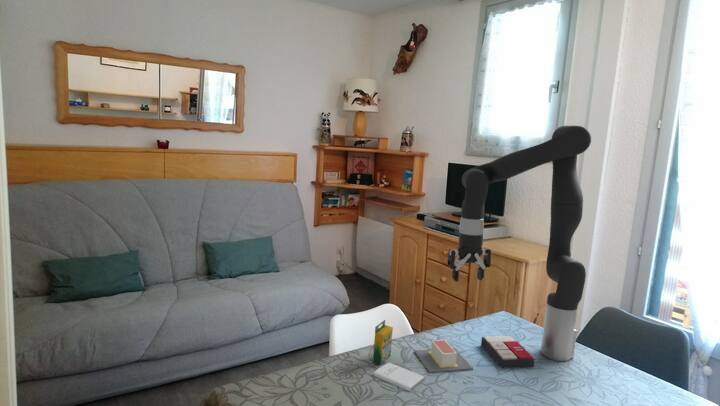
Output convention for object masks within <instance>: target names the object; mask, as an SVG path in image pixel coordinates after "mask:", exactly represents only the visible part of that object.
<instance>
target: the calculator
mask: <svg viewBox="0 0 720 406" xmlns="http://www.w3.org/2000/svg"><path fill="white" fill-rule="evenodd" d="M480 342H481V343H480V347H481V349H483V350H484V351H485V352H486V353H487V354H488V355H489V356H490V357H491V359H492V360H493V361H494V362H495V363H496V364H497V365H498V366H499V367H500V369H519V368H520V369H521V368H534V365H535V358H534V357H533V355H531V353H529V351H527V349H525V348H524V347H523V346H522V345H521V344H520V343H519V342H518V341H517V340H516V339H515V338H513V336H512V335H498V336H497V335H494V336H493V335H492V336H487V335H486V336H482V337H481V341H480Z"/></svg>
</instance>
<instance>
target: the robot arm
mask: <svg viewBox="0 0 720 406" xmlns="http://www.w3.org/2000/svg"><path fill="white" fill-rule="evenodd" d="M591 135H592V134H591V133H590V131H589V129H588V128H586V127H585V126H581V125H578V124H568V125H567V124H565V125H561V126H559V127H558V128H556V129H555V130H554V131H553V133H552V135H551V139H549V140H546V141H544V142H542V143H540V144H536V145H534V146H529V147H528V148H527V147H526V148H522V149H520V150H517V151H513V152H511V153H508V154H506V155H504V156H501V157H499V158H496V159H495V160H491V161H490V162H487V163H483V164H480V165H477V166H474V167H472V168H470V169H467V170H466V171H465V172H464V173H463V175H462V177H461V183H462V185H463V186H464V188H465V190H464V199H463V201H462V204H461V213H460V221H459V228H458V230H459V231H458V248H457V249H452V248H449V250H448V255H447V263H446V266H447V267H448V268H449V269H451V270H452V274H451V277H452V280H453V281H454V282H455V283H456V282H459V277H460V269H461V267H463V266H464V265H465V264H470V263H472V264H475V263H476V265H477V266H478V268H477V273H476V274H477V275H476V279H477V280H478V281H482V280H483V279H484V278H485V269H486V268H490V267H491V265H492V261H491V260H492V250H491V249H489V248H487V247H484V248H483V244H484V243H483V241H484V229H485V221H484V219H485V218H484V217H485V203H486V200H487V196H488V195H487V194H488V191H489V185H490V184H493V183H495V182H503V181H507V180H509V179H511V178H514V177H516V176H519V175H520V174H523V173H525V172H528V171H529V170H532V169H534V168H537V167H540V166H542V165H545V164H548V163H550V162H552V178H551V198H550V228H549V242H548V243H549V244H548V250H547V256H546V265H545V270H546V271H545V272H546V275H547V276H548V278H549V279H551V281H552V282H555V283H556V284H557V286H556V289H555V292H550V293H549V294H548V295H547V298H546V307H545V315H544V323H543V328H542V329H543V330H542V337H541V338H542V339H541V346H540V353H541V355H543V356H544V357H545V358H548V359H551V360H552V361H558V362H567V361H570V360H571V359H574V356H575V349H576V342H577V333H578V332H577V331H578V330H577V329H576V321H577V314H578V307H579V304H580V302H581V300H582V298H583V294H584V288H585V284H586V278H587V272H586V268H585V266H584V264H583V263H582V262H580V261H579V260H577V259H574V258H572V257H571V242H572V239H573V236H574V234H575V232H576V230H577V229H578V227H579V225H580V224H581V221H582V219H583V209H584V208H583V207H584V197H583V196H584V195H583V191H582V190H583V189H582V187H581V183H580V181H579V176H578V169H577V162H578V155H581V154H583V153H585V152H586V151H587V150H588V148H589V147H590V145H591V143H592V136H591ZM457 255H458V257H457ZM482 255H483V260H482V259H481V256H482ZM456 257H457V258H456Z"/></svg>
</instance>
